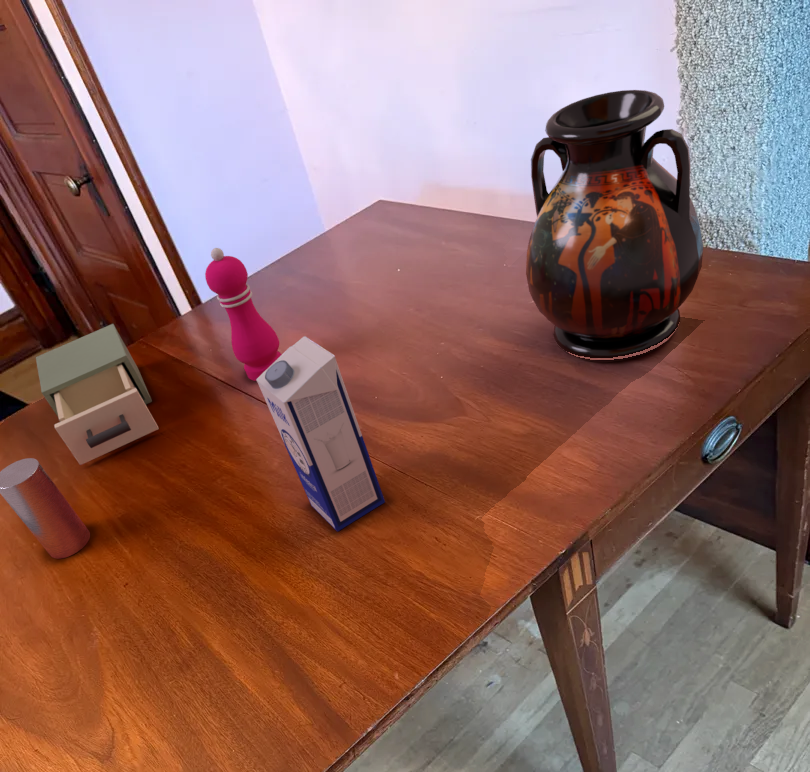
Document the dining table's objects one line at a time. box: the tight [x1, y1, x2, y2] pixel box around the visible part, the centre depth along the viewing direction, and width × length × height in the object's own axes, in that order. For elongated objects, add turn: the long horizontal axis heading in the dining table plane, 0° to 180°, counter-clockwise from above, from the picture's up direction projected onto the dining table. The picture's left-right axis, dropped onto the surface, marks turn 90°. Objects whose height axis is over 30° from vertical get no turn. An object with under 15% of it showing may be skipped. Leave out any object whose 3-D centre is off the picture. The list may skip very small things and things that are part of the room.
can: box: [0, 457, 91, 560], centre depth 93 cm, size 6×6×12 cm
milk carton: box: [256, 335, 386, 532], centre depth 82 cm, size 7×7×20 cm
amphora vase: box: [525, 89, 704, 363], centre depth 92 cm, size 22×22×28 cm
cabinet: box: [35, 323, 153, 419], centre depth 121 cm, size 15×14×9 cm
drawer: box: [53, 363, 159, 466], centre depth 111 cm, size 18×12×7 cm
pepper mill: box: [204, 247, 282, 382], centre depth 112 cm, size 7×7×20 cm
